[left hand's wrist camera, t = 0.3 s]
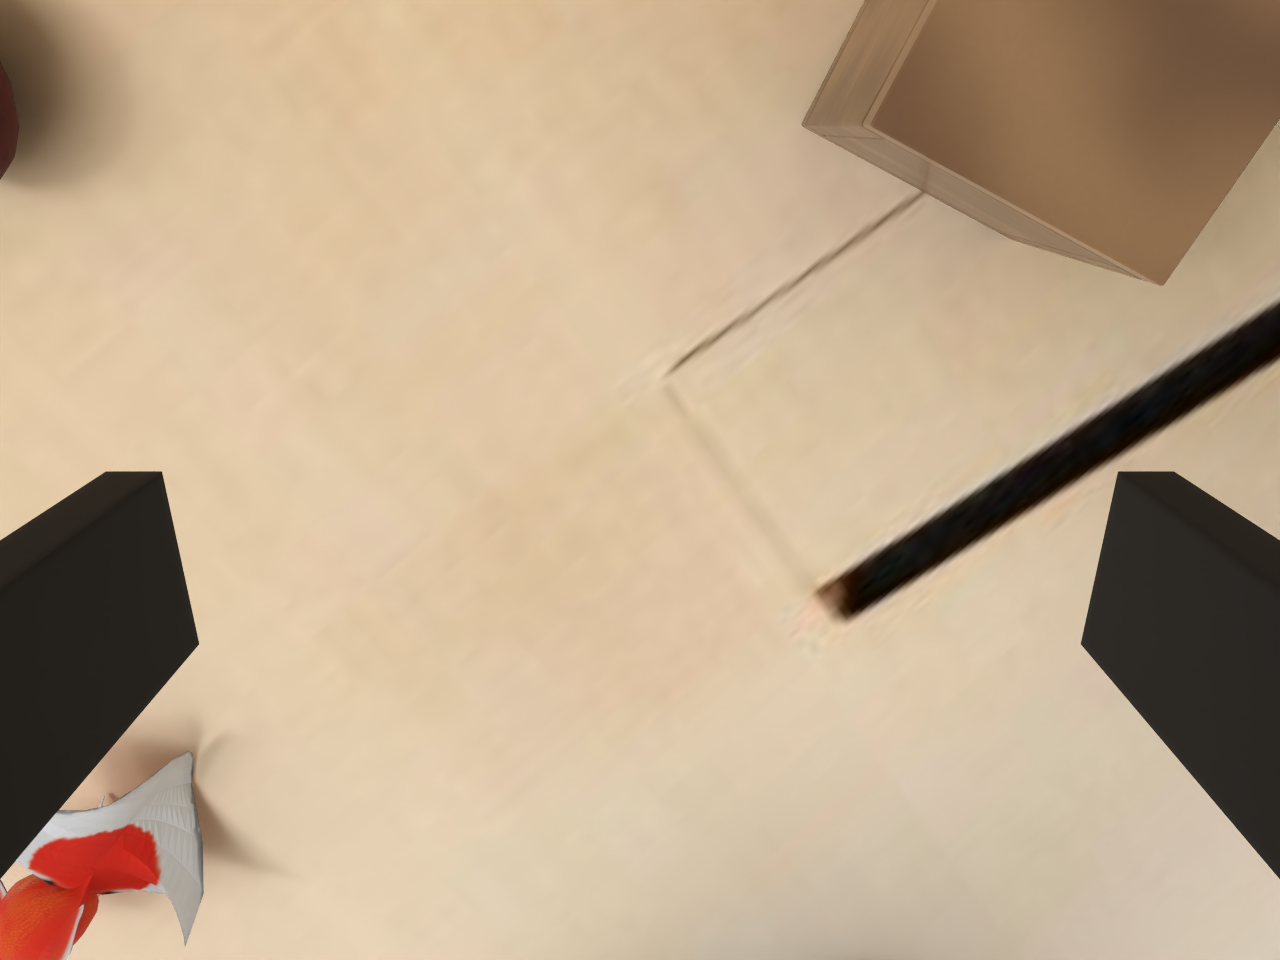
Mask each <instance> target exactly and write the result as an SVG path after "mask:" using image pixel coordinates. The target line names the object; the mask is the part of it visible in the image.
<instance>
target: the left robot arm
mask: <svg viewBox="0 0 1280 960" xmlns="http://www.w3.org/2000/svg"><path fill="white" fill-rule="evenodd" d="M198 645H199V641H198V637H197V632H196V627H195V623H194V618H193V613H192V609H191V604H190V599H189V595H188V590H187V586H186V581H185V576H184V572H183V567H182V562H181V558H180V553H179V549H178V544H177V539H176V535H175V530H174V525H173V521H172V516H171V512H170V507H169V502H168V498H167V493H166V488H165V484H164V479H163V475H162V472H105V473H103V474H102V475H100V476H99V477H97V478H95V479H94V480H92V481H91V482H89V483H88V484H86V485H85V486H83V487H82V488H80V489H79V490H77V491H75V492H74V493H72V494H71V495H69V496H68V497H66V498H65V499H63V500H62V501H60V502H59V503H57V504H56V505H54V506H52V507H51V508H49V509H48V510H46V511H45V512H43V513H42V514H40V515H39V516H37V517H36V518H34V519H33V520H31V521H29V522H28V523H26V524H25V525H23V526H22V527H20V528H19V529H17V530H16V531H14V532H13V533H11V534H10V535H8V536H6V537H5V538H3V539H2V540H0V879H1V877H2V876H3V875H4V874H5V873H6V872H7V870H8V869H9V868H10V867H11V866H12V864H13V863H14V862H15V861H16V860H17V859H18V857H19V856H20V855H21V854H22V853H23V851H24V850H25V849H26V848H27V847H28V846H29V844H30V843H31V842H32V841H33V840H34V838H35V837H36V836H37V835H38V834H39V833H40V831H41V830H42V829H43V828H44V827H45V825H46V824H47V823H48V822H49V821H50V820H51V818H52V817H53V816H54V815H55V814H56V812H57V811H58V810H59V809H60V808H61V807H62V805H63V804H64V803H65V802H66V801H67V799H68V798H69V797H70V796H71V795H72V794H73V792H74V791H75V790H76V789H77V788H78V787H79V785H80V784H81V783H82V782H83V781H84V779H85V778H86V777H87V776H88V775H89V774H90V772H91V771H92V770H93V769H94V768H95V766H96V765H97V764H98V763H99V762H100V761H101V759H102V758H103V757H104V756H105V755H106V753H107V752H108V751H109V750H110V749H111V748H112V746H113V745H114V744H115V743H116V742H117V740H118V739H119V738H120V737H121V736H122V735H123V733H124V732H125V731H126V730H127V729H128V727H129V726H130V725H131V724H132V723H133V722H134V720H135V719H136V718H137V717H138V716H139V714H140V713H141V712H142V711H143V710H144V709H145V707H146V706H147V705H148V704H149V703H150V701H151V700H152V699H153V698H154V697H155V696H156V694H157V693H158V692H159V691H160V690H161V689H162V687H163V686H164V685H165V684H166V683H167V681H168V680H169V679H170V678H171V677H172V676H173V674H174V673H175V672H176V671H177V670H178V668H179V667H180V666H181V665H182V664H183V663H184V661H185V660H186V659H187V658H188V657H189V655H190V654H191V653H192V652H193V651H194V650H195V648H196V647H197V646H198ZM1081 645H1082V646H1083V647H1084V648H1085V650H1086V651H1087V652H1088V653H1089V654H1090V655H1091V657H1092V658H1093V659H1094V660H1095V661H1096V663H1097V664H1098V665H1099V666H1100V667H1101V668H1102V670H1103V671H1104V672H1105V673H1106V674H1107V676H1108V677H1109V678H1110V679H1111V680H1112V681H1113V683H1114V684H1115V685H1116V686H1117V687H1118V689H1119V690H1120V691H1121V692H1122V693H1123V694H1124V696H1125V697H1126V698H1127V699H1128V700H1129V701H1130V703H1131V704H1132V705H1133V706H1134V707H1135V709H1136V710H1137V711H1138V712H1139V713H1140V714H1141V716H1142V717H1143V718H1144V719H1145V720H1146V722H1147V723H1148V724H1149V725H1150V726H1151V727H1152V729H1153V730H1154V731H1155V732H1156V733H1157V735H1158V736H1159V737H1160V738H1161V739H1162V740H1163V742H1164V743H1165V744H1166V745H1167V746H1168V748H1169V749H1170V750H1171V751H1172V752H1173V753H1174V755H1175V756H1176V757H1177V758H1178V759H1179V761H1180V762H1181V763H1182V764H1183V765H1184V766H1185V768H1186V769H1187V770H1188V771H1189V772H1190V774H1191V775H1192V776H1193V777H1194V778H1195V779H1196V781H1197V782H1198V783H1199V784H1200V785H1201V787H1202V788H1203V789H1204V790H1205V791H1206V792H1207V794H1208V795H1209V796H1210V797H1211V798H1212V799H1213V801H1214V802H1215V803H1216V804H1217V805H1218V807H1219V808H1220V809H1221V810H1222V811H1223V812H1224V814H1225V815H1226V816H1227V817H1228V818H1229V820H1230V821H1231V822H1232V823H1233V824H1234V825H1235V827H1236V828H1237V829H1238V830H1239V831H1240V833H1241V834H1242V835H1243V836H1244V837H1245V838H1246V840H1247V841H1248V842H1249V843H1250V844H1251V846H1252V847H1253V848H1254V849H1255V850H1256V851H1257V853H1258V854H1259V855H1260V856H1261V857H1262V859H1263V860H1264V861H1265V862H1266V863H1267V864H1268V866H1269V867H1270V868H1271V869H1272V870H1273V872H1274V873H1275V874H1276V875H1277V876H1278V877H1279V879H1280V540H1278V539H1277V538H1275V537H1274V536H1272V535H1270V534H1269V533H1267V532H1266V531H1264V530H1263V529H1261V528H1260V527H1258V526H1257V525H1255V524H1254V523H1252V522H1251V521H1249V520H1247V519H1246V518H1244V517H1243V516H1241V515H1240V514H1238V513H1237V512H1235V511H1234V510H1232V509H1231V508H1229V507H1228V506H1226V505H1224V504H1223V503H1221V502H1220V501H1218V500H1217V499H1215V498H1214V497H1212V496H1211V495H1209V494H1208V493H1206V492H1205V491H1203V490H1201V489H1200V488H1198V487H1197V486H1195V485H1194V484H1192V483H1191V482H1189V481H1188V480H1186V479H1185V478H1183V477H1181V476H1180V475H1178V474H1177V473H1175V472H1118V475H1117V479H1116V484H1115V488H1114V493H1113V498H1112V502H1111V507H1110V512H1109V516H1108V521H1107V525H1106V530H1105V535H1104V539H1103V544H1102V549H1101V553H1100V558H1099V562H1098V567H1097V572H1096V576H1095V581H1094V586H1093V590H1092V595H1091V599H1090V604H1089V609H1088V613H1087V618H1086V623H1085V627H1084V632H1083V637H1082V641H1081Z"/></svg>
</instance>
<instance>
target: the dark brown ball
mask: <svg viewBox="0 0 1280 960" xmlns="http://www.w3.org/2000/svg"><path fill="white" fill-rule="evenodd" d="M18 130H19V124H18V119H17V113H16V108H15V103H14V98H13V93H12V88H11V84H10V81H9V79H8V77H7V75H6V73H5V71H4V69H3V67H2V65H1V63H0V179H1V178H2V176H3V175H4V173H5V171H6V170H7V168H8V167H9V165H10V163H11V162H12V160H13V159H14V156H15V152H16V145H17V137H18Z"/></svg>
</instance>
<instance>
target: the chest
mask: <svg viewBox="0 0 1280 960" xmlns="http://www.w3.org/2000/svg"><path fill="white" fill-rule="evenodd" d="M928 1H929V0H865V2H864V4H863V6H862V7H861V9H860V11H859V13H858V15H857V17H856V19H855V21H854V23H853V25H852V27H851V29H850V31H849V33H848V35H847V37H846V39H845V41H844V43H843V44H842V46H841V48H840V50H839V52H838V54H837V56H836V58H835V60H834V62H833V64H832V66H831V68H830V70H829V72H828V74H827V76H826V78H825V80H824V81H823V83H822V85H821V87H820V89H819V91H818V93H817V95H816V97H815V99H814V101H813V103H812V105H811V107H810V109H809V111H808V113H807V115H806V116H805V118H804V120H803V122H802V126H803V127H805V128H807V129H809V130H810V131H812V132H814V133H816V134H818V135H820V136H821V137H823V138H825V139H827V140H829V141H831V142H833V143H834V144H836V145H838V146H840V147H842V148H844V149H845V150H847V151H849V152H851V153H853V154H855V155H857V156H858V157H860V158H862V159H864V160H866V161H868V162H870V163H871V164H873V165H875V166H877V167H879V168H881V169H882V170H884V171H886V172H888V173H890V174H892V175H894V176H895V177H897V178H899V179H901V180H903V181H905V182H906V183H908V184H910V185H912V186H914V187H916V188H918V189H919V190H921V191H923V192H925V193H927V194H929V195H931V196H932V197H934V198H936V199H938V200H940V201H942V202H943V203H945V204H947V205H949V206H951V207H953V208H955V209H956V210H958V211H960V212H962V213H964V214H966V215H967V216H969V217H971V218H973V219H975V220H977V221H979V222H980V223H982V224H984V225H986V226H988V227H990V228H992V229H993V230H995V231H997V232H999V233H1001V234H1003V235H1004V236H1006V237H1008V238H1010V239H1012V240H1014V241H1018V242H1021V243H1024V244H1027V245H1031V246H1034V247H1037V248H1040V249H1044V250H1047V251H1050V252H1053V253H1056V254H1060V255H1063V256H1066V257H1069V258H1073V259H1076V260H1079V261H1082V262H1086V263H1089V264H1092V265H1095V266H1099V267H1102V268H1105V269H1108V270H1112V271H1115V272H1118V273H1121V274H1124V275H1128V276H1131V277H1134V278H1137V279H1141V278H1139V277H1137V276H1135V275H1133V274H1131V273H1130V272H1128V271H1126V270H1124V269H1122V268H1120V267H1119V266H1117V265H1115V264H1113V263H1111V262H1109V261H1108V260H1106V259H1104V258H1102V257H1100V256H1099V255H1097V254H1095V253H1093V252H1091V251H1089V250H1088V249H1086V248H1084V247H1082V246H1080V245H1078V244H1077V243H1075V242H1073V241H1071V240H1069V239H1068V238H1066V237H1064V236H1062V235H1060V234H1058V233H1057V232H1055V231H1053V230H1051V229H1049V228H1047V227H1046V226H1044V225H1042V224H1040V223H1038V222H1036V221H1035V220H1033V219H1031V218H1029V217H1027V216H1026V215H1024V214H1022V213H1020V212H1018V211H1016V210H1015V209H1013V208H1011V207H1009V206H1007V205H1005V204H1004V203H1002V202H1000V201H998V200H996V199H995V198H993V197H991V196H989V195H987V194H985V193H984V192H982V191H980V190H978V189H976V188H974V187H973V186H971V185H969V184H967V183H965V182H963V181H962V180H960V179H958V178H956V177H954V176H953V175H951V174H949V173H947V172H945V171H943V170H942V169H940V168H938V167H936V166H934V165H932V164H931V163H929V162H927V161H925V160H923V159H922V158H920V157H918V156H916V155H914V154H912V153H911V152H909V151H907V150H905V149H903V148H901V147H900V146H898V145H896V144H894V143H892V142H890V141H889V140H887V139H885V138H883V137H881V136H880V135H878V134H876V133H874V132H872V131H870V130H869V129H867V128H865V127H864V126H863V122H864V120H865V118H866V117H867V115H868V113H869V111H870V109H871V107H872V105H873V104H874V102H875V100H876V98H877V96H878V94H879V92H880V91H881V89H882V87H883V85H884V83H885V81H886V79H887V78H888V76H889V74H890V72H891V70H892V68H893V66H894V65H895V63H896V61H897V59H898V57H899V55H900V53H901V52H902V50H903V48H904V46H905V44H906V42H907V40H908V38H909V37H910V35H911V33H912V31H913V29H914V27H915V25H916V24H917V22H918V20H919V18H920V16H921V14H922V12H923V11H924V9H925V7H926V5H927V3H928ZM1141 280H1142V279H1141Z"/></svg>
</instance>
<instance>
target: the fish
mask: <svg viewBox="0 0 1280 960" xmlns="http://www.w3.org/2000/svg"><path fill="white" fill-rule="evenodd" d="M192 774H193V756H192V752H190V751H188V752H186V753H184V754H182V755H180V756H178V757H176V758H174V759H173V760H172V761H170V762H169V763H168V764H166V765H165V766H164V767H163V768H161V769H160V770H159V771H158V772H157V773H155V774H154V775H153V776H152V777H151V778H149V779H148V780H147V781H146V782H144V783H143V784H141V785H140V786H138V787H137V788H135V789H134V790H132V791H131V792H129V793H128V794H126V795H124V796H123V797H121V798H120V799H118V800H117V801H115V802H113V803H112V804H110V805H109V806H104V807H102V803H103V800H104V796H103V798H102V800H101V802H100V804H99V806H98V808H94V809H89V810H84V811H79V810H58V811H57V812H56V814H55V815H54V816H53V817H52V818H51V820H50V821H49V822H48V823H47V824H46V825H45V827H44V828H43V829H42V830H41V831H40V833H39V834H38V835H37V836H36V837H35V838H34V840H33V841H32V842H31V843H30V844H29V846H28V847H27V848H26V849H25V850H24V851H23V853H22V854H21V855H20V856H19V857H18V859H17V860H16V861H15V862H17V863H18V864H20V865H21V866H22V867H24V868H25V869H27V870H28V871H30V872H31V873H33V874H32V875H29V876H27V877H25V878H23V879H21V880H19V881H18V882H17V883H15V884H14V885H13V886H12V887H11V889H10V890H9V891H8V892H7V891H6V889H5V887H4V885H3V883H2V881H1V880H0V960H67V958H68V956H69V954H70V952H71V950H72V946H73V945H74V944H75V943H76V942H77V941H78V940H79V938H80V937H81V936H82V935H83V933H84V932H85V931H86V929H87V927H88V926H89V924H90V922H91V921H92V919H93V917H94V916H95V914H96V912H97V908H98V902H99V899H98V897H99V895H100V894H102V895H103V894H111V893H119V892H127V891H135V890H141V891H147V892H153V893H162V894H166V895H167V897H168V898H169V899H170V900H171V902H172V904H173V906H174V909H175V911H176V913H177V916H178V919H179V922H180V925H181V928H182V932H183V935H184V943H185V946H186V943H187V940H188V937H189V934H190V931H191V928H192V925H193V923H194V920H195V917H196V914H197V911H198V908H199V905H200V902H201V899H202V896H203V846H202V837H201V832H200V826H199V821H198V815H197V810H196V805H195V799H194V794H193V788H192Z"/></svg>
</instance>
